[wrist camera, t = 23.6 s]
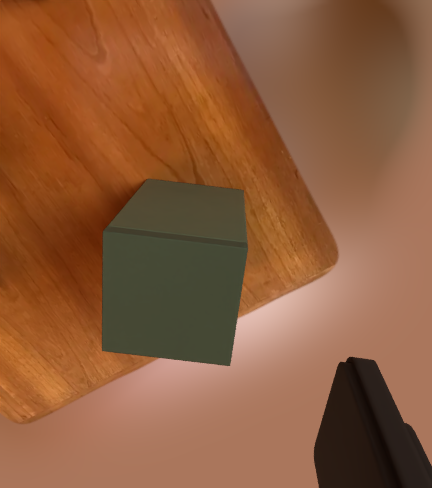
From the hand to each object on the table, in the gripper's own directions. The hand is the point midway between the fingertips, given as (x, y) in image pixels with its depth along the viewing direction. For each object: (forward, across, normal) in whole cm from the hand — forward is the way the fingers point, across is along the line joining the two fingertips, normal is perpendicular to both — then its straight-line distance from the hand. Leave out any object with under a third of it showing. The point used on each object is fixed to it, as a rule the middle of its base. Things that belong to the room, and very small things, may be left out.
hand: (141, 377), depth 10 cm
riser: (+30, +2, +7) cm, 31 cm away
